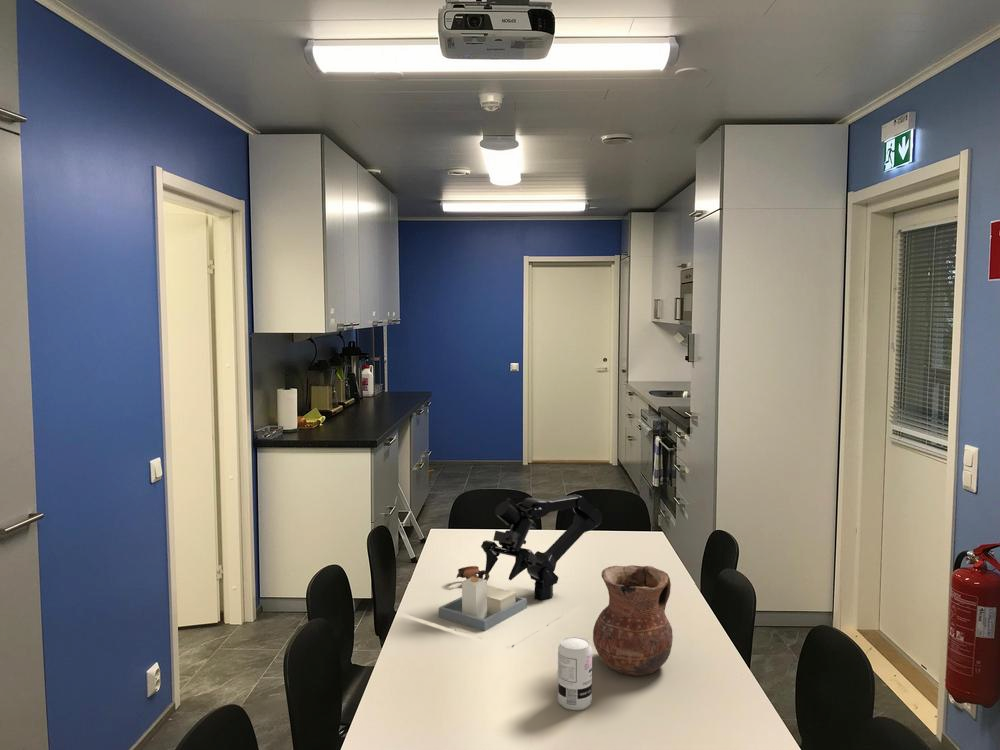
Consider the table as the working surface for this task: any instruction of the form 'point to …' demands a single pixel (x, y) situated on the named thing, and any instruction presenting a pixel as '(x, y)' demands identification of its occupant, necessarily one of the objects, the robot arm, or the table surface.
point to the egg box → (499, 599)
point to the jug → (634, 620)
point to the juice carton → (474, 597)
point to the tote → (455, 614)
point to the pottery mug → (471, 573)
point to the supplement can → (574, 673)
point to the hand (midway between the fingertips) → (497, 576)
